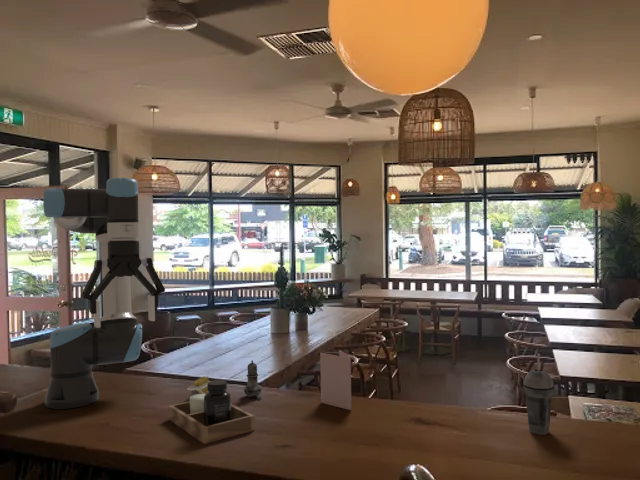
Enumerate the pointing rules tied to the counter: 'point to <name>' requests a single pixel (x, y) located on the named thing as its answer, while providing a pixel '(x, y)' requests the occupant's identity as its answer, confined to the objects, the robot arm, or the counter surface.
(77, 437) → the counter surface
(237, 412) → the caddy
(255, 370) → the salt shaker
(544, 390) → the beverage cup
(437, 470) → the counter surface
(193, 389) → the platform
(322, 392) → the greeting card
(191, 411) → the pale green dome
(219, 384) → the supplement bottle
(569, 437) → the counter surface
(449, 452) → the counter surface
